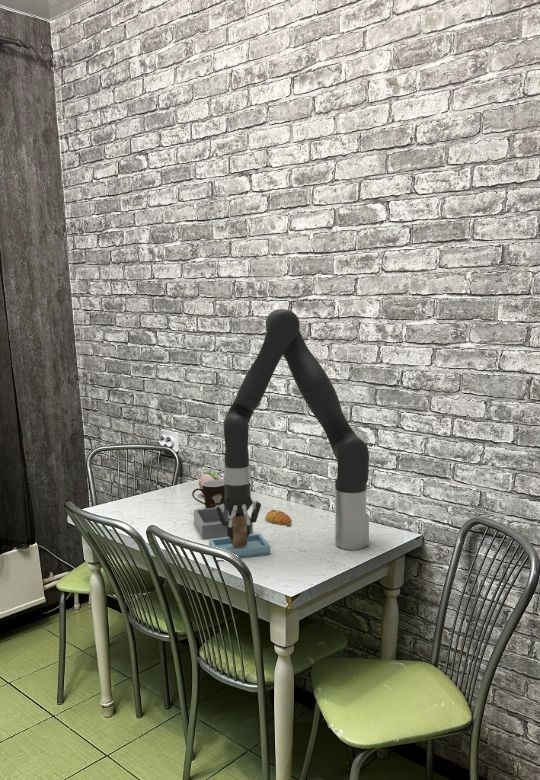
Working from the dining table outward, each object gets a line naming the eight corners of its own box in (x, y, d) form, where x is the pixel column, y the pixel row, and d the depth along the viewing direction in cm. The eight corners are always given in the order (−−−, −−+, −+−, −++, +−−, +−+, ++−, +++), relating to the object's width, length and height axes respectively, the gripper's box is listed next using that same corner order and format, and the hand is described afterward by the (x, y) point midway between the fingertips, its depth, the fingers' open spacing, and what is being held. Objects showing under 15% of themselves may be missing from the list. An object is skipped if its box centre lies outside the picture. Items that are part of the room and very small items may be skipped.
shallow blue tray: (260, 541, 193) (260, 533, 193) (270, 554, 183) (270, 546, 183) (209, 547, 189) (208, 539, 189) (216, 561, 179) (215, 553, 178)
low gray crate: (241, 518, 214) (240, 504, 213) (252, 535, 198) (252, 519, 198) (194, 524, 209) (193, 509, 209) (202, 541, 194) (202, 525, 193)
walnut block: (244, 540, 188) (243, 511, 187) (247, 545, 184) (246, 516, 183) (230, 542, 187) (230, 513, 186) (233, 547, 183) (233, 517, 182)
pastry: (297, 524, 208) (296, 513, 207) (282, 529, 203) (281, 518, 203) (277, 517, 215) (277, 507, 214) (262, 522, 210) (262, 511, 210)
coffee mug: (229, 507, 227) (228, 480, 225) (225, 514, 218) (224, 486, 217) (197, 506, 228) (196, 479, 226) (192, 514, 219) (191, 486, 218)
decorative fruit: (194, 496, 240) (193, 470, 238) (209, 491, 246) (208, 466, 245) (211, 501, 234) (210, 474, 232) (226, 495, 240) (226, 470, 239)
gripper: (215, 486, 178) (217, 544, 180) (264, 481, 181) (265, 538, 184) (210, 479, 185) (212, 535, 187) (257, 475, 189) (258, 530, 191)
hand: (238, 537), depth 185 cm, fingers closed on walnut block, 4 cm apart
